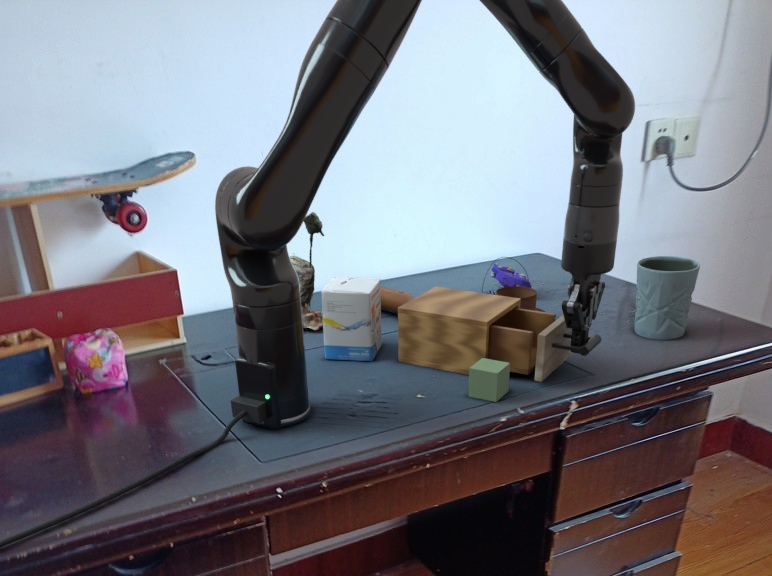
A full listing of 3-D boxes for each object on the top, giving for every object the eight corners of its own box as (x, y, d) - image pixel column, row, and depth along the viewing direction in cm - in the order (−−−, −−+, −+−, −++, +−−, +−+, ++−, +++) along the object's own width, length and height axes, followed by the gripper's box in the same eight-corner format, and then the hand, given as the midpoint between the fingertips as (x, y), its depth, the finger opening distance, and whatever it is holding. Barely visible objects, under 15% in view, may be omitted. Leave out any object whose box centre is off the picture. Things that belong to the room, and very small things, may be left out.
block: (496, 402, 123) (497, 373, 120) (468, 396, 125) (469, 367, 122) (508, 391, 126) (510, 362, 123) (481, 386, 128) (482, 357, 125)
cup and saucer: (517, 341, 144) (519, 306, 141) (467, 325, 152) (469, 292, 149) (561, 325, 151) (564, 291, 147) (511, 310, 159) (513, 278, 155)
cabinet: (517, 352, 140) (520, 298, 135) (484, 378, 130) (487, 321, 126) (435, 337, 147) (435, 286, 142) (398, 361, 137) (397, 307, 132)
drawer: (603, 362, 132) (609, 318, 128) (578, 388, 124) (583, 341, 120) (487, 342, 141) (489, 300, 137) (456, 365, 133) (457, 321, 129)
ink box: (372, 362, 138) (370, 292, 131) (323, 359, 139) (319, 290, 133) (383, 344, 145) (381, 277, 138) (336, 342, 146) (332, 275, 140)
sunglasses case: (445, 311, 158) (434, 285, 152) (424, 337, 156) (412, 312, 151) (378, 293, 168) (365, 268, 163) (357, 318, 166) (344, 294, 161)
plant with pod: (302, 313, 160) (294, 204, 150) (341, 326, 153) (335, 213, 143) (269, 323, 156) (258, 212, 145) (307, 337, 149) (298, 221, 138)
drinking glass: (699, 336, 144) (712, 266, 137) (650, 344, 141) (661, 274, 135) (664, 319, 152) (674, 253, 146) (617, 327, 149) (625, 259, 143)
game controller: (547, 273, 166) (527, 275, 158) (529, 311, 170) (509, 315, 162) (506, 252, 169) (485, 253, 161) (490, 290, 173) (468, 292, 165)
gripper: (580, 223, 125) (569, 335, 134) (548, 243, 115) (539, 361, 124) (629, 228, 121) (615, 342, 131) (601, 249, 112) (587, 370, 121)
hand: (578, 351), depth 127 cm, fingers closed
